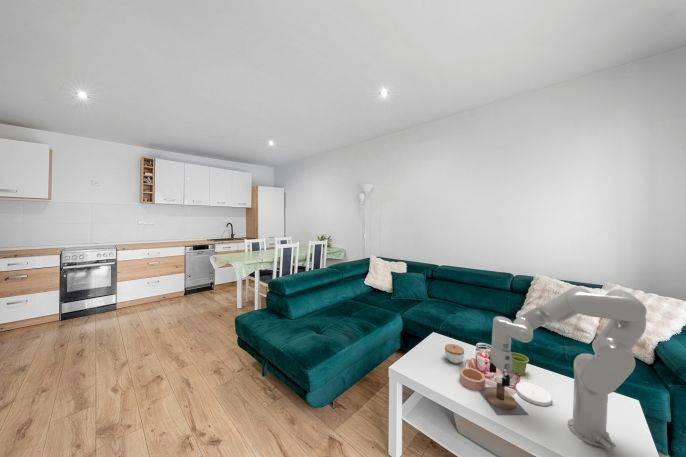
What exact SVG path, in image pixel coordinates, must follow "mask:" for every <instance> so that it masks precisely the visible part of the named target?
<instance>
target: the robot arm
mask: <svg viewBox="0 0 686 457" xmlns="http://www.w3.org/2000/svg"><path fill="white" fill-rule="evenodd" d="M647 312H648V311H647V308H646V306H645V304H644V303H643V301H640V300H639V299H638V298H637V297H636V296H635V295H633V294H631V293H630V292H628V291H626V290H622V289H612V290H609V291H608V292H607V293H606V294H597V293H592V292H590V291H589V290H587V289H586V288H584V287H577V286H576V287H571V288H569V289H567V290H565V291H564V292H563V293H561V294H559V295H558V296H556V297H554V298H553V299H550V300H549V301H547V302H546V303H544V304H542V305H539V306H537V307H534V308H532V309H529V310H528V311H526V312H524V313H523V314H521V315H519V316H518V317H516V319H514V320H513V322H512V320H511V319H509V318H507V317H505V316H499V315H498V316H495V317H493V319H492V333H491V346H490V351H487V356H488V360H489V361H488V363H489V364H488V365H489V367H488V372H489V373H490V374H492V373H493V374H496V373H497V370H499V371H500V372H501V373H502V377H501V383H502V386H503V387H505V388H506V387H510V385H511V382H510V381H511V379H513V377H514V376H515V373H514V372H512V354H511V353H512V350H511V348H512V339H514V340H516V341H519V342H521V343H529V342H531V341H532V340H533V338H534V330H536V329H538V328H539V327H542V326H544V325H546V324H552V323H553V324H563V323H564V322H565V321H567V320H569V319H571V318H572V317H575V316H577V315H583V316H587V317H591V318H592V317H593V318H598V319H599V318H600V319H607V320H609V321H608V322H607V324H606V326H605V327H604V328H603V329H602V331H601V332H600V333H599V334H598V335H597V336H596V337H595V338H594V340H593V341H592V344H591V345H592V349H593V353H594V354H591V353H580V354H579V355H577V356H576V357H575V358H574V360H573V375H574V376H573V377H574V378H573V399H572V400H573V402H572V403H573V404H572V405H573V407H572V418H569V419H568V420H567V424H566V425H567V428H568V429H569V431H570V432H571V433H572V434H573V435H574V436H576V437H577V438H578V439H580V440H581V441H583V442H585V443H587V444H590V445H591V446H594V447H598V448H602V449H607V450H608V451H609V452H612V451H613V450H614V448H616V443H615V442H614V441H612V438H611V437H610V433H609V432H608V431H607V426H608V425H607V423H608V421H607V419H608V402H609V395H610V394H612V393H614V392H615V391H616V390H617V389H618V388H619V387H620V386H621V385H622V384H623V383H624V382H625V381H626V379H627V378H628V377H629V376H630V375H631V374H632V373H633V372H634V370H635V367H636V359H635V357H634V355H633V353H632V352H631V351H632V349H633V348H634V347H635V346H636V344H637V343H638V342H639V340H640V339H641V338H642V336H643V335H644V333H645V330H646V327H647V318H646V316H647Z"/></svg>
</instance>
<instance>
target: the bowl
mask: <svg viewBox="0 0 686 457" xmlns="http://www.w3.org/2000/svg"><path fill="white" fill-rule="evenodd" d="M459 382H460V384H461V385H462V386H463V387H465V388H466V389H468V390H470V391H474V392H479V391H482V390H483V389H485V387H486V376H485V375H484V373H483V372H481V371H479V370H478V369H474V368H471V367H462V368H461V369H460V372H459Z"/></svg>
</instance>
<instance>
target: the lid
mask: <svg viewBox="0 0 686 457" xmlns="http://www.w3.org/2000/svg"><path fill="white" fill-rule="evenodd" d="M496 387H497V389H488V390H486V392H485V397H486V399H487V400H488V402H490V403H491V404H492V405H494V406H496V407H498V408H500V409H504V410H513V409H515V408H516V402H517V400H516V399H515V398H514V397H513V395H511V394H510V393H509V392H508V393H509V394H508V393H506V392H504V391H505V390H506V389H505V388H506V387H503V386H502V382H497V383H496Z"/></svg>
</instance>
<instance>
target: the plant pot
mask: <svg viewBox="0 0 686 457" xmlns="http://www.w3.org/2000/svg"><path fill="white" fill-rule="evenodd" d="M511 354H512V372H513V373H514V372H515V373H514V374H516V373H517V374H516V375H518V374H520V375H519V376H524V375H525V374H526V369H527V364H528V363H529V362H530V360H529V357H527V356H526V355H524V354H522V353H517V352H511Z"/></svg>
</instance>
